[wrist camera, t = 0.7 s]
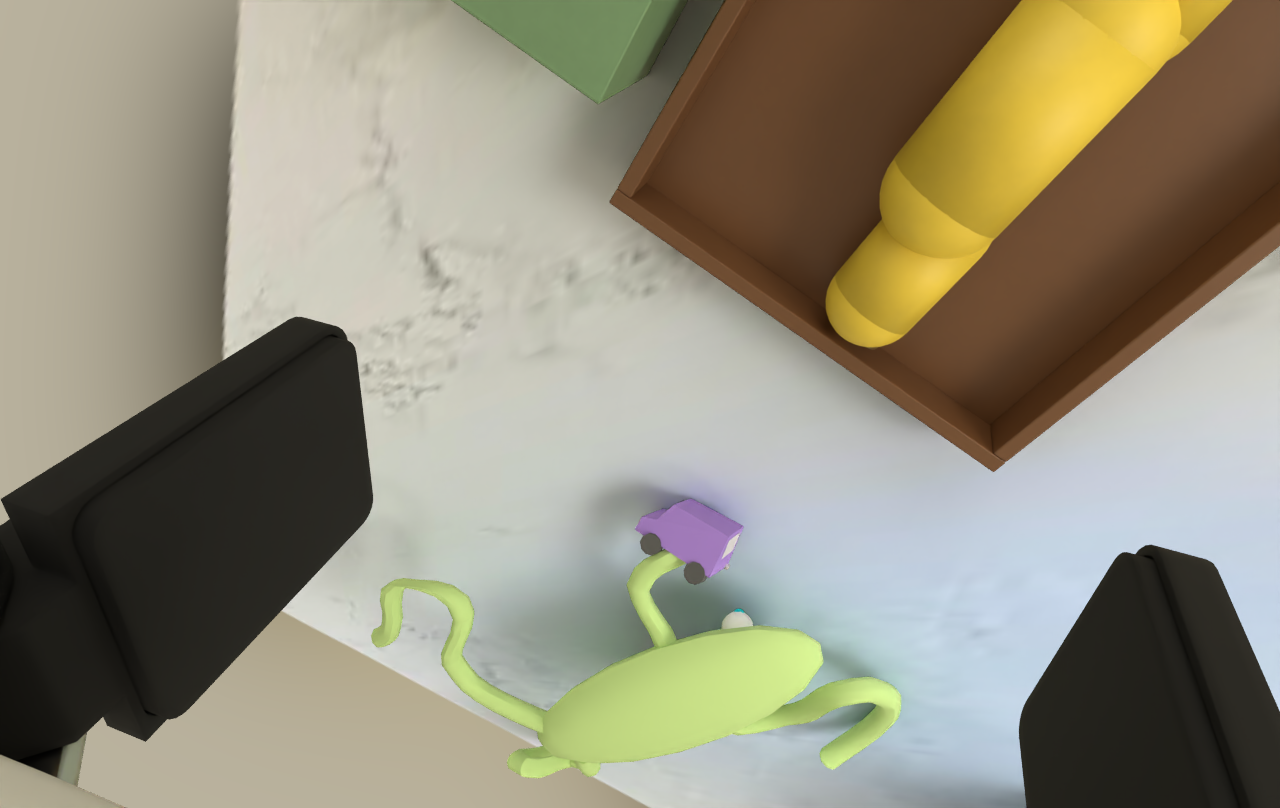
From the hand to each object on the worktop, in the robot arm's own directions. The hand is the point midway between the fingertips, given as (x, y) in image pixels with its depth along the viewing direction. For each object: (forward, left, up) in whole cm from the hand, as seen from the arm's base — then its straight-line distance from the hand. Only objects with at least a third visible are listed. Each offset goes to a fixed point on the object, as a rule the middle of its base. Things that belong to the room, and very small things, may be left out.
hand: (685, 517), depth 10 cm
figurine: (+28, +7, -21) cm, 36 cm away
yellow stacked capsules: (-4, +3, -20) cm, 21 cm away
